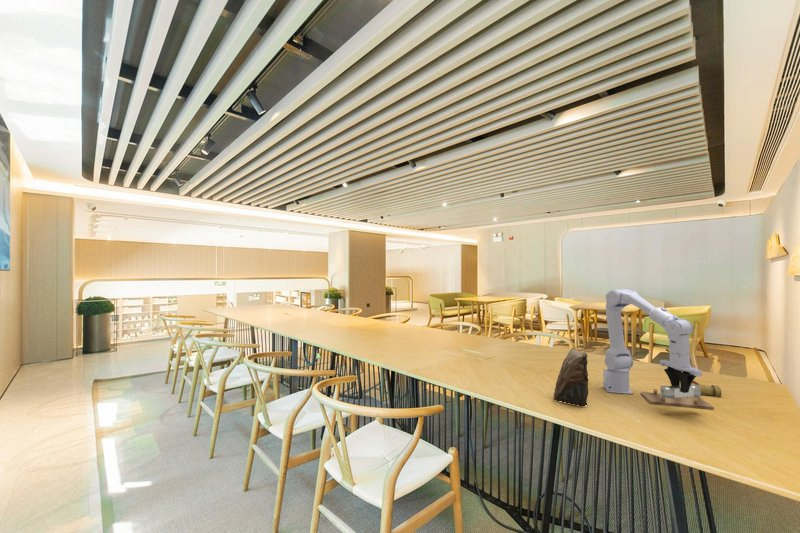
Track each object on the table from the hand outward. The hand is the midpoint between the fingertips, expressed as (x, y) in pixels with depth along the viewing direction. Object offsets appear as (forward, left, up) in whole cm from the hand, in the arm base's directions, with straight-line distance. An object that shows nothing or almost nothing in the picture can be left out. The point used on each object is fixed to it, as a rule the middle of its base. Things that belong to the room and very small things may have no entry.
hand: (680, 390), depth 124 cm
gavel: (+18, +34, -9) cm, 39 cm away
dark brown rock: (-36, +3, -8) cm, 37 cm away
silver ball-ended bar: (0, 0, -2) cm, 2 cm away
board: (+3, +13, -8) cm, 16 cm away
